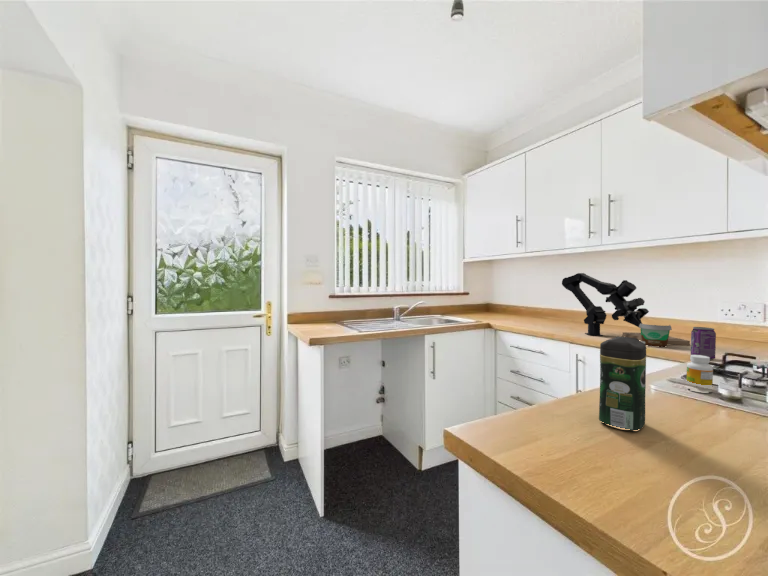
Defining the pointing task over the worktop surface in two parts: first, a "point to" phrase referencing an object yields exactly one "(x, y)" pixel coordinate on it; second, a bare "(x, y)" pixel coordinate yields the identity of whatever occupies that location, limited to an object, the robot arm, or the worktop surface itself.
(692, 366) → the supplement bottle
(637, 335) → the walnut chopping board
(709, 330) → the beverage can
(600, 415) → the coffee jar
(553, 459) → the worktop surface
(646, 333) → the food container
